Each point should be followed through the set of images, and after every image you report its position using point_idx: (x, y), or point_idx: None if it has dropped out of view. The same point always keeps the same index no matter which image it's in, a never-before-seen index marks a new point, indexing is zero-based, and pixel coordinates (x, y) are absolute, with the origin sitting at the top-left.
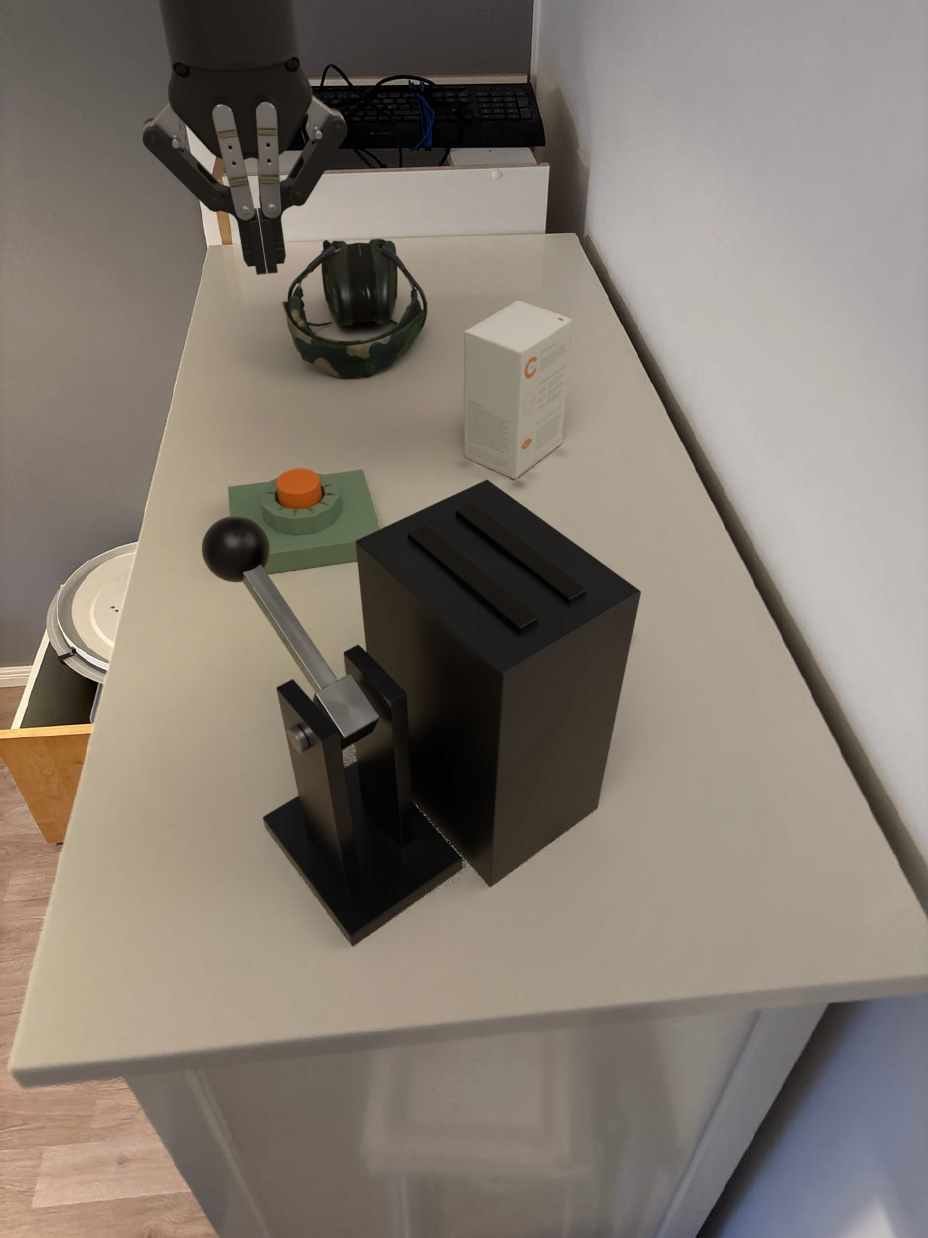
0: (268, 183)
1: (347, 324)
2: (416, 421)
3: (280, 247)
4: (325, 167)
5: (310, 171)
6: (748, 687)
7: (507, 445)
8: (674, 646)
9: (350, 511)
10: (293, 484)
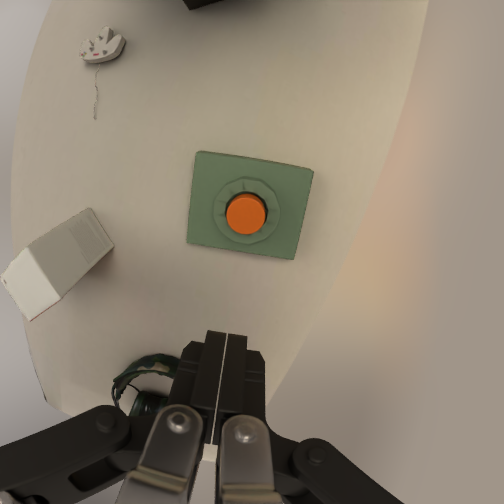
0: (166, 472)
1: (166, 398)
2: (137, 298)
3: (188, 362)
4: (21, 440)
5: (54, 452)
6: (63, 8)
7: (80, 221)
8: (74, 34)
9: (210, 192)
10: (250, 212)
